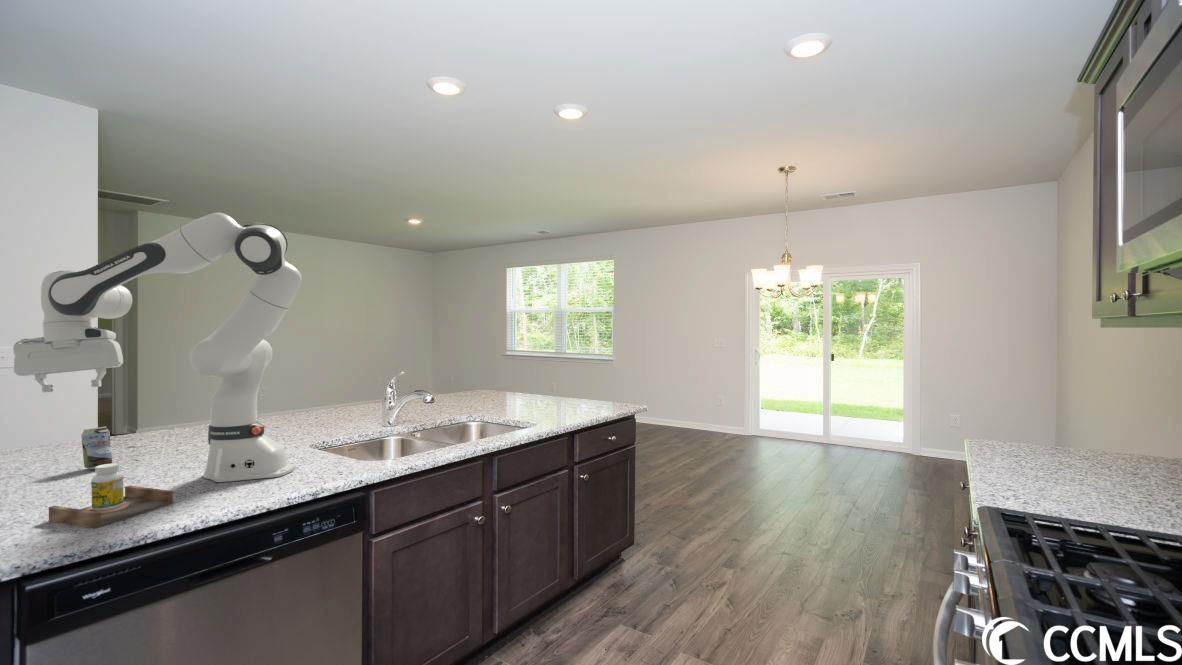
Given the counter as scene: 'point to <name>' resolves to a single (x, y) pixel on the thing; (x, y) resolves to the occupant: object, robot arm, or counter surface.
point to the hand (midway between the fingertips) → (72, 389)
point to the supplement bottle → (107, 487)
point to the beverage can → (96, 447)
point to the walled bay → (133, 505)
